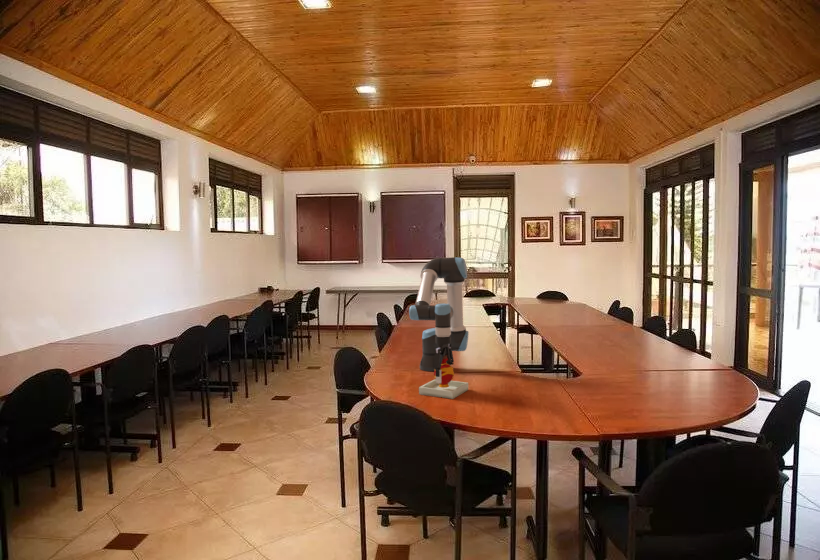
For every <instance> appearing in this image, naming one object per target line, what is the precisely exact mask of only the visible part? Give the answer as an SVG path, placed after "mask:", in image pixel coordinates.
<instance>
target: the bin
mask: <svg viewBox="0 0 820 560" xmlns="http://www.w3.org/2000/svg"><path fill="white" fill-rule="evenodd" d="M439 385H440V384H439V383H436V379H435V378H434V379H433V380H430V381H428V382H426V383H425V384H422V385H420V386H419V387H418V395H421V396H429V397H434V398H435V397H437V398H441V397H442V398H443V399H448V400H449V399H450V400H455V398H457V397H459V396H460V395H462V394H464V393H465V392H467V391H469V382H464V381H459V380H451V381H450V382H449V383H448V385H449V387H446V388H441V387H439Z"/></svg>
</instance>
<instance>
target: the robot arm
mask: <svg viewBox="0 0 820 560" xmlns="http://www.w3.org/2000/svg"><path fill="white" fill-rule="evenodd" d="M467 278H468V268H467V263H466V260H465V258H463V257H456V256H455V257H435V258H433V259H431V260H429V261H428V262H426V263H425V265H424V266H423V268H422V269H421V272H420V283H419V288H418V292H417V296H416V300H415V304H413V305H412V304H411V305H410V306H409V308H408V315H409V319H410V320H411V321H435V325H434V326H435V327H432V328H427V329H425V330H423V331H422V337H421V345H422V346H421V347H422V357H421V360H420V363H419V370H421V371H425V372H434V371H435V370H436V383H441V370H440V368H441V364H442V360H443V357H444V355H447V358H448V360H447V361H446V363H447V364H449V365H451V366H452V365H454V363H455V361H454V354H453V352H465V351H466V350H467V347H468V340H469V333H470V332H469V330H467V327H466V326H465V325H464V314H463V313H464V312H463V311H464V310H463V307H464V305H463V284H464V282H465V279H467ZM438 279H443V283H445V285H446V297H447V298H446V301H447V302H446V303H444V302H442V303H436V304H435V305H432V304H431V302H432V297H433V292H434V287H435V284H436V282H437V280H438ZM452 367H453V366H452Z"/></svg>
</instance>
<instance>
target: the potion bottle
mask: <svg viewBox="0 0 820 560" xmlns="http://www.w3.org/2000/svg"><path fill="white" fill-rule="evenodd" d="M447 360H448V358H447V355H444V357H443V360H442V364H441V368H440V370H441V383H439V384H440V385H439V387H441V388H446V387H449V385H448V383H449V382H450V381H453V379H454V376H455V372H454V367H453V366H451V365H449V364H447V363H446V361H447ZM433 378H434V379H436V370H435V371H433Z"/></svg>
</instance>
